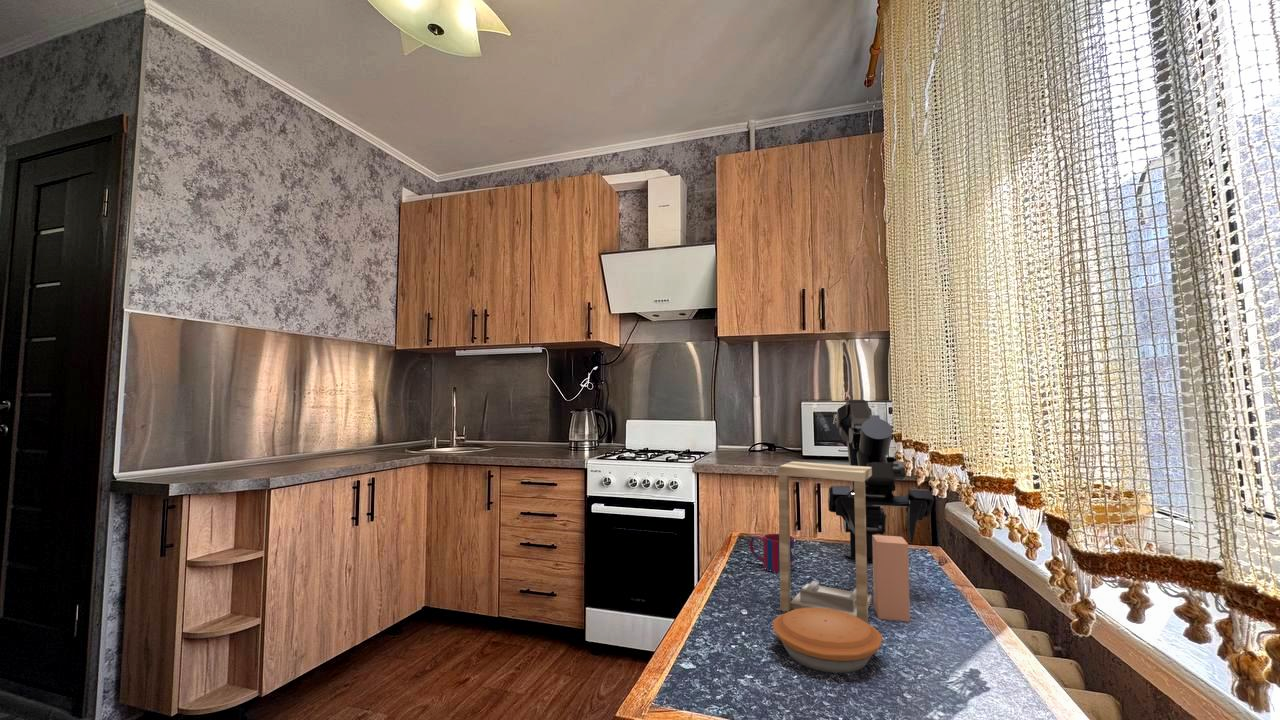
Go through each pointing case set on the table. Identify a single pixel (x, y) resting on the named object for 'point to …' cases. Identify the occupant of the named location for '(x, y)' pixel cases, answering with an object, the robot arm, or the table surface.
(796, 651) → the pie
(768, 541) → the mug
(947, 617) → the table surface
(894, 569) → the block
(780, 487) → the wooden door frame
